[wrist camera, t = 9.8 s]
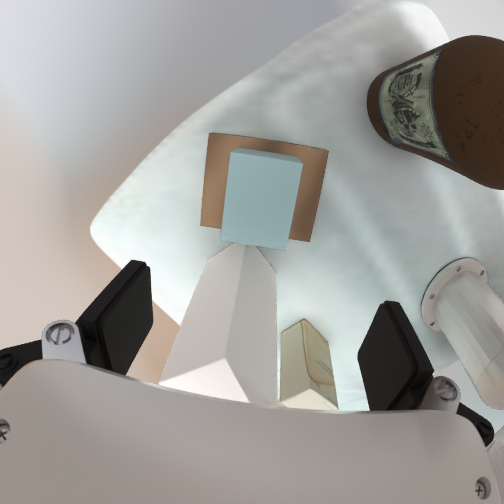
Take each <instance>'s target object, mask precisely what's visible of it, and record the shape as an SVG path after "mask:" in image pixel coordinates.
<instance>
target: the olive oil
mask: <svg viewBox="0 0 504 504" xmlns="http://www.w3.org/2000/svg"><path fill="white" fill-rule="evenodd" d="M367 108H368V114H369V117H370V120H371V122H372V124H373V126H374V128H375V129H376V131H377V132H378V134H379V135H380V136H381V137H382V138H383V139H384V140H386V141H387V142H388V143H390V144H391V145H393V146H395V147H398V148H400V149H403V150H406V151H409V152H412V153H415V154H417V155H420V156H422V157H425V158H427V159H429V160H432V161H434V162H436V163H439V164H441V165H443V166H445V167H447V168H449V169H451V170H453V171H455V172H457V173H459V174H461V175H463V176H465V177H467V178H469V179H471V180H473V181H475V182H477V183H479V184H481V185H483V186H486V187H489V188H493V189H498V190H504V41H502V40H500V39H496V38H492V37H487V36H480V35H471V36H464V37H461V38H457V39H455V40H452V41H450V42H448V43H446V44H443V45H441V46H439V47H437V48H435V49H432V50H430V51H428V52H426V53H424V54H421V55H419V56H417V57H415V58H413V59H411V60H409V61H406V62H404V63H402V64H400V65H398V66H395V67H393V68H391V69H389V70H386V71H384V72H383V73H381V74H380V75H379V76H377V77H376V79H375V80H374V81H373V83H372V84H371V86H370V89H369V92H368V97H367Z"/></svg>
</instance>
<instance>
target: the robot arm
mask: <svg viewBox="0 0 504 504" xmlns="http://www.w3.org/2000/svg"><path fill="white" fill-rule="evenodd" d="M487 282H488V279H487V273H486V270H485V268H484V267H483V266H482V265H481V264H480V263H479V262H478V261H476V260H475V259H471V258H463V259H460V260H457V261H455V262H453V263H451V264H449V265H448V266H446V267H445V268H444V269H443V270H442V271H440V272H439V273H438V274H437V276H436V277H435V278H434V279H433V280H432V282H431V283H430V285H429V287H428V288H427V290H426V292H425V295H424V298H423V301H422V306H421V314H422V317H423V320H424V322H425V323H426V325H427V326H428V327H429V328H430V329H432V330H434V331H438V332H443V333H444V334H445V336H446V338H447V339H448V341H449V343H450V344H451V346H452V348H453V349H454V351H455V353H456V354H457V356H458V358H459V360H460V361H461V363H462V365H463V367H464V368H465V370H466V372H467V374H468V376H469V377H470V379H471V381H472V383H473V385H474V387H475V389H476V390H477V392H478V394H479V396H480V398H481V399H482V401H483V402H484V403H485V404H486V405H487V406H489V407H491V408H494V409H498V410H504V302H503V301H502V300H501V299H500V298H499V296H498V295H497V294H496V293H495V292H494V291H493V290H492V289H491V288H490V287H489V286H488V285H487ZM152 325H153V309H152V294H151V274H150V267H149V266H147V265H146V263H145V262H142V261H137V260H131V261H130V262H129V263H128V264H127V265H126V266H125V267H124V268H123V269H122V270H121V271H120V273H119V274H118V275H117V276H116V277H115V278H114V279H113V280H112V281H111V282H110V283H109V284H108V285H107V286H106V288H105V289H104V290H103V291H102V292H101V293H100V294H99V295H98V297H97V298H96V299H95V300H94V301H93V302H92V303H91V305H90V306H89V307H88V308H87V309H86V310H85V311H84V312H83V314H82V315H81V316H80V317H79V319H78V320H77V321H76V322H75V323H74V322H71V321H69V320H57V321H54V322H52V323H50V324H49V325H47V326H46V327H45V328H44V330H43V332H42V339H41V340H37V341H33V342H29V343H25V344H21V345H17V346H13V347H9V348H5V349H2V350H0V504H504V426H503V427H502V428H501V429H500V430H498V431H497V432H496V433H495V434H494V429H493V427H492V425H491V423H490V422H489V421H488V420H487V419H485V418H483V417H482V416H480V415H479V414H477V413H476V412H474V411H473V410H471V409H470V408H468V407H466V406H465V405H463V404H462V403H460V402H459V401H460V397H461V393H460V389H459V387H458V386H457V384H456V383H454V382H453V381H452V380H451V379H449V378H447V377H444V376H438V377H435V378H434V377H433V375H432V374H433V372H434V369H433V367H432V365H431V363H430V360H429V358H428V356H427V354H426V352H425V350H424V348H423V346H422V344H421V342H420V340H419V338H418V336H417V334H416V333H415V331H414V329H413V327H412V325H411V323H410V321H409V319H408V317H407V316H406V314H405V312H404V310H403V308H402V307H401V305H400V303H399V302H395V301H385V302H384V303H383V304H380V306H379V308H378V310H377V312H376V314H375V317H374V319H373V321H372V324H371V326H370V328H369V330H368V332H367V334H366V337H365V339H364V341H363V343H362V345H361V347H360V349H359V351H358V362H359V366H360V370H361V374H362V378H363V383H364V387H365V391H366V395H367V400H368V404H369V409H370V411H335V410H314V409H300V408H288V407H278V406H269V405H261V404H254V403H247V402H240V401H234V400H228V399H222V398H217V397H211V396H206V395H201V394H196V393H192V392H187V391H183V390H178V389H174V388H170V387H166V386H162V385H158V384H154V383H151V382H147V381H143V380H140V379H136V378H132V377H129V376H126V373H127V372H128V370H129V368H130V366H131V364H132V362H133V360H134V358H135V357H136V355H137V353H138V351H139V349H140V347H141V346H142V344H143V342H144V340H145V338H146V337H147V335H148V333H149V331H150V329H151V327H152Z"/></svg>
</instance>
